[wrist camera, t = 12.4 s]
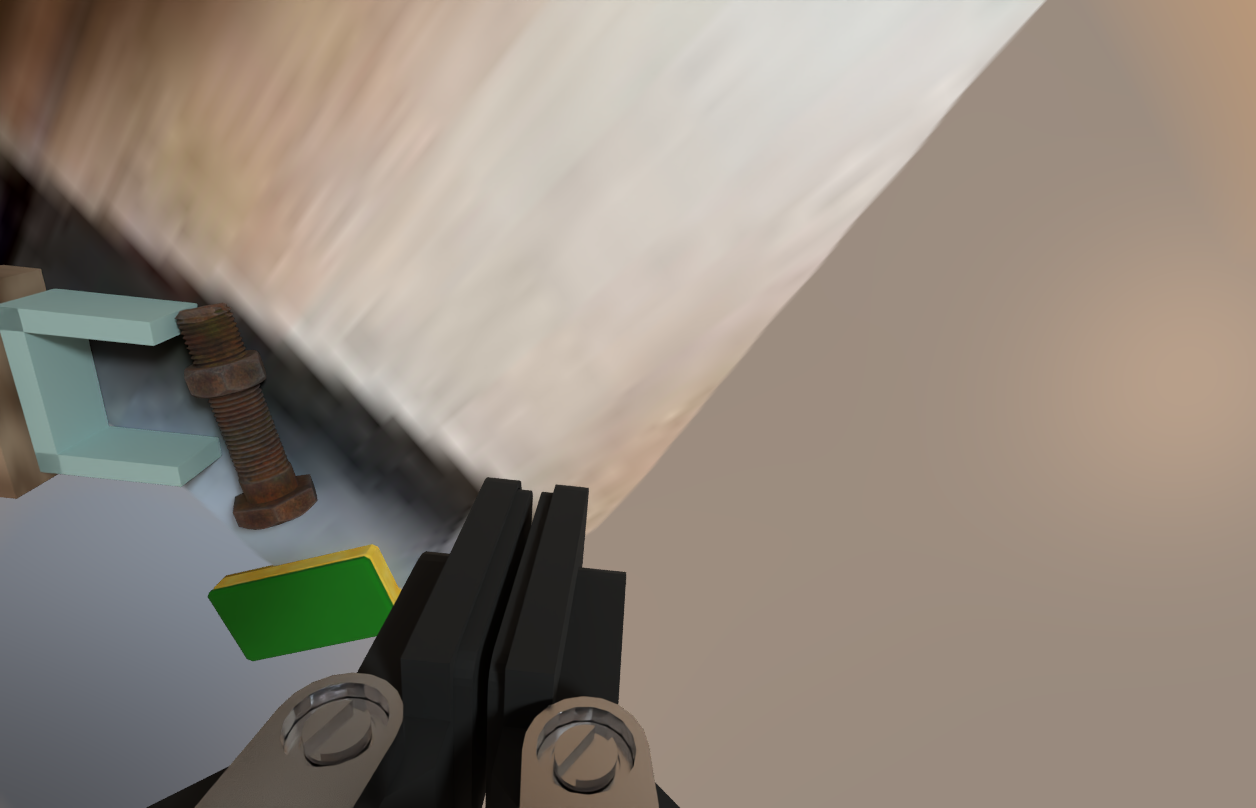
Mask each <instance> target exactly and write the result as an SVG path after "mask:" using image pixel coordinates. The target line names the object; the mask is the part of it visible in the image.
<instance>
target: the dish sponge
mask: <svg viewBox="0 0 1256 808" xmlns="http://www.w3.org/2000/svg"><path fill="white" fill-rule="evenodd" d="M400 592H401V588H398V586H397V584H396V582H395V580H394V578H393V576H392V574H391V572H390V570H389V568H388V566H387V564H386V562H385V560H384V558H383V556H382V554H381V552H380V550H379V548H378V547H377V546H375V545H373V544H371V545H367V546H363V547H358V548H354V549H349V550H345V551H340V552H336V553H331V554H327V555H323V556H318V557H314V558H309V559H305V560H300V561H296V562H292V563H287V564H283V565H278V566H274V565H270V566H266V567H262V568H257V569H252V570H248V571H243V572H239V573H234V574H230V575H226V576H225V577H224V578H223V579H222V580H221V581H220V582H219V583H218V584H217V585H216V586H215V587H214V589H213V590H211V591H210V592H209V595H208V598H209V600H210V601H211V603H212V605H213V606H214V607H215V609H216V611H217V612H218V614H219V615H220V617H221V619H222V620H223V622H224V623H225V625H226V627H227V628H228V630H229V631H230V633H231V635H232V636H233V638H234V639H235V640H236V642H237V644H238V645H239V647H240V648H241V650H242V652H243V653H244V655H245V657H246V658H247V659H248V660H251V661H256V660H261V659H266V658H271V657H276V656H281V655H286V654H291V653H296V652H301V651H305V650H311V649H315V648H321V647H325V646H330V645H335V644H340V643H345V642H350V641H355V640H360V639H365V638H370V637H375V636H377V635H378V633H379V631H380V629H381V627H382V626H383V624H384V622H385V620H386V618H387V616H388V615H389V613H390V611H391V609H392V607H393V605H394V603H395V602H396V600H397V598H398V596H399V594H400Z"/></svg>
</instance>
